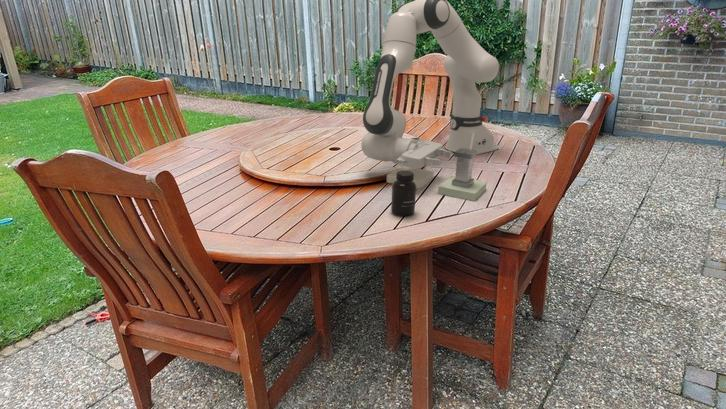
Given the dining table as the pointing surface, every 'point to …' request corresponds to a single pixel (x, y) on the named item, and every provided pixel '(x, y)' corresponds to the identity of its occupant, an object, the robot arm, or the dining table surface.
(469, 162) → the post
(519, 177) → the dining table surface
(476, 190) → the stand
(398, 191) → the supplement bottle
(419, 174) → the stand
